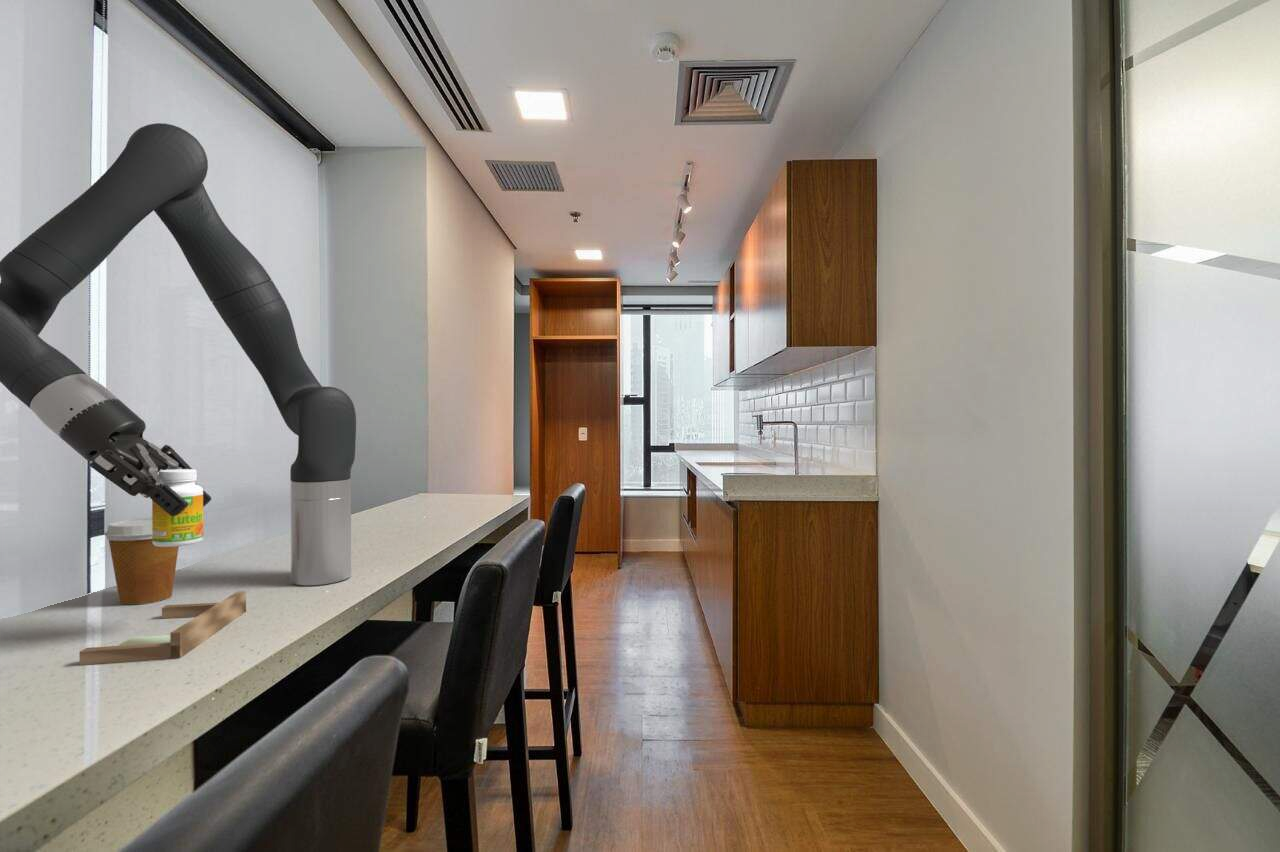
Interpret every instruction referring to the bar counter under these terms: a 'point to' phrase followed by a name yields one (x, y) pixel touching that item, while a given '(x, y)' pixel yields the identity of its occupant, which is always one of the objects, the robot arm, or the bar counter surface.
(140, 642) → the bay
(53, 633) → the bar counter surface
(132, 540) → the disposable coffee cup
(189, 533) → the supplement bottle
